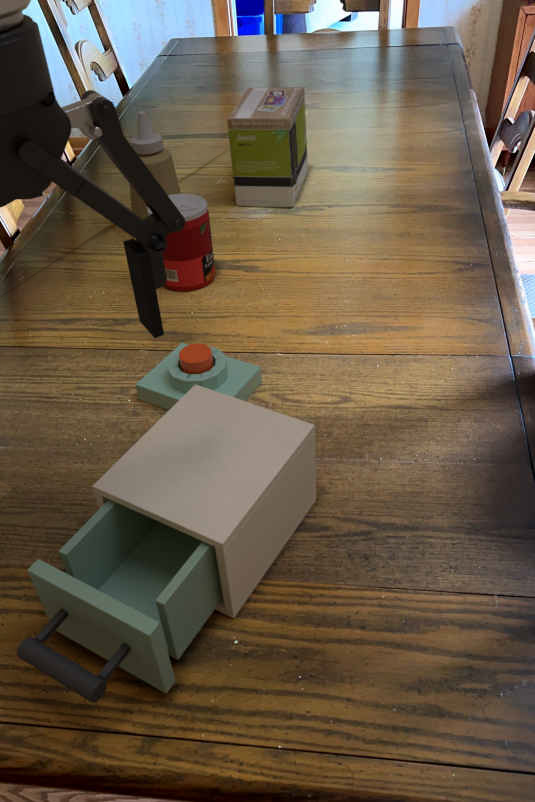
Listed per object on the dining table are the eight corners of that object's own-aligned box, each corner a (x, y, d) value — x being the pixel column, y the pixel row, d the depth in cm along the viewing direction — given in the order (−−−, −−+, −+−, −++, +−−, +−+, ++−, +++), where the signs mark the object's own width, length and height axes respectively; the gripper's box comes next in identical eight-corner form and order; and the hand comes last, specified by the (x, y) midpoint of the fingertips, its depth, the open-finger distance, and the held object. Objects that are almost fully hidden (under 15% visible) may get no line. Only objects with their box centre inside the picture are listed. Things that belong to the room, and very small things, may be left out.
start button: (174, 370, 79) (172, 357, 78) (193, 352, 81) (191, 340, 80) (201, 379, 77) (199, 366, 76) (219, 361, 80) (218, 348, 78)
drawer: (129, 747, 50) (106, 691, 45) (12, 674, 55) (-20, 616, 50) (260, 562, 61) (253, 501, 56) (154, 515, 66) (140, 455, 61)
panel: (138, 399, 81) (132, 371, 78) (184, 356, 87) (180, 329, 84) (219, 429, 76) (215, 400, 74) (262, 381, 82) (260, 353, 79)
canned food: (218, 288, 98) (210, 213, 91) (161, 296, 98) (147, 221, 91) (213, 261, 104) (204, 189, 97) (158, 268, 104) (145, 197, 96)
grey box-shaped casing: (234, 619, 58) (222, 544, 52) (114, 560, 64) (91, 485, 57) (316, 500, 68) (315, 424, 62) (206, 457, 73) (195, 383, 67)
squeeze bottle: (164, 244, 109) (144, 125, 98) (125, 233, 113) (101, 117, 101) (196, 223, 114) (181, 107, 103) (157, 213, 118) (139, 100, 106)
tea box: (254, 171, 129) (248, 85, 120) (309, 172, 127) (307, 85, 118) (234, 207, 118) (225, 115, 108) (294, 209, 116) (290, 116, 107)
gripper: (-333, 92, 29) (-119, 465, 42) (212, -9, 38) (244, 325, 52) (-325, 55, 34) (-136, 399, 48) (154, -25, 43) (197, 282, 57)
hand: (62, 361), depth 50 cm, fingers open, 13 cm apart
